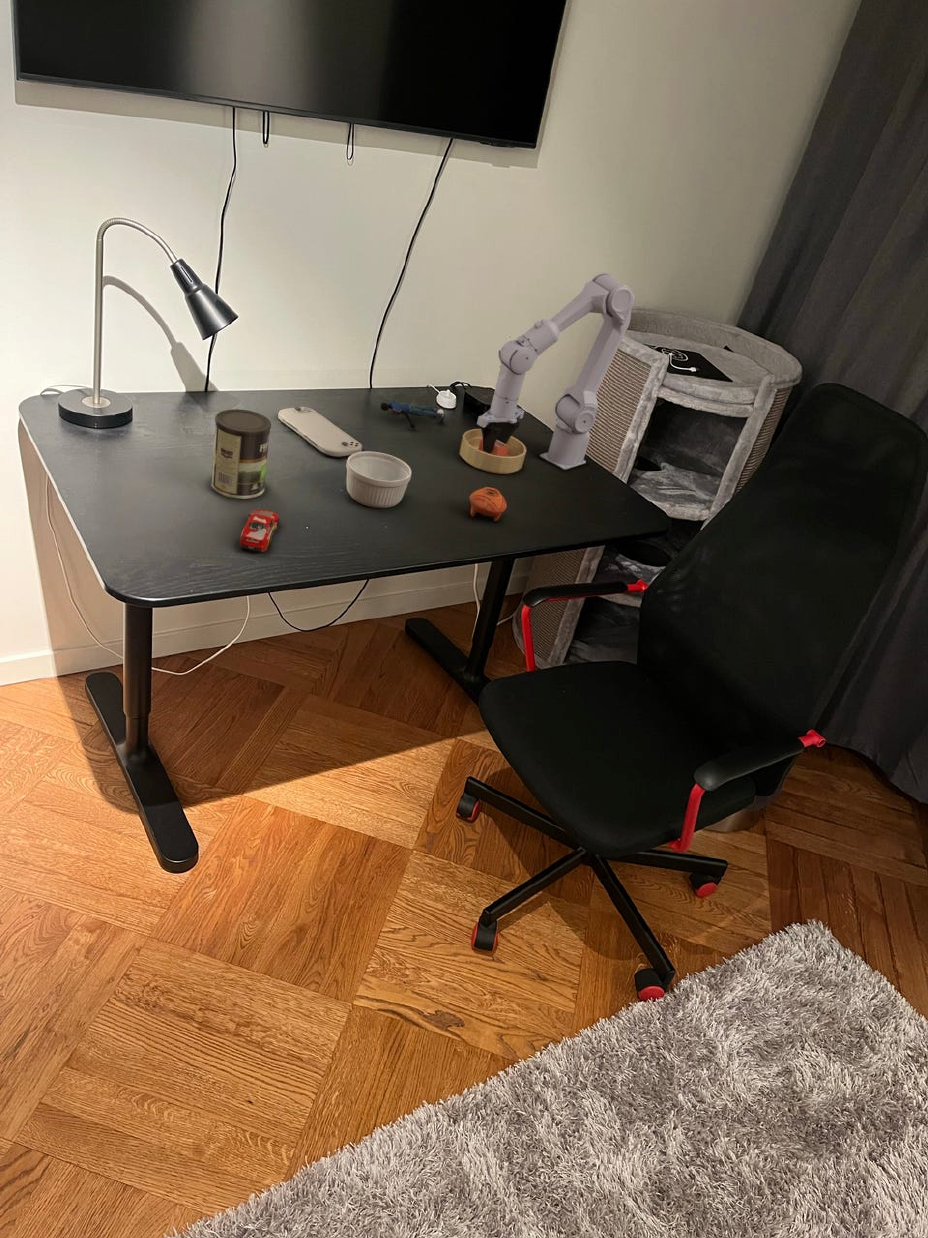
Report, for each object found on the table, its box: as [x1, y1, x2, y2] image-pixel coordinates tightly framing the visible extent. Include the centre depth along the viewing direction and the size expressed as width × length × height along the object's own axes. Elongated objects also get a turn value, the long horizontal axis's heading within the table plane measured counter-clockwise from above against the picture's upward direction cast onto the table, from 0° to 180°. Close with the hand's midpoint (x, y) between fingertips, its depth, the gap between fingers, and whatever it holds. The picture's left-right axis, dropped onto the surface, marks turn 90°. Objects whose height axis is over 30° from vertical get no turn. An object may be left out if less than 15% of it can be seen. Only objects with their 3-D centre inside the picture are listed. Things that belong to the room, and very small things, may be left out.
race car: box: [238, 509, 280, 553], centre depth 165 cm, size 13×5×4 cm, turn 177°
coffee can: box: [210, 408, 272, 500], centre depth 175 cm, size 10×10×14 cm
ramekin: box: [345, 450, 412, 509], centre depth 186 cm, size 13×13×7 cm
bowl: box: [459, 428, 527, 475], centre depth 214 cm, size 15×15×4 cm
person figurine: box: [379, 400, 446, 431], centre depth 224 cm, size 11×4×18 cm
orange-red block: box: [478, 439, 509, 457], centre depth 214 cm, size 4×6×4 cm
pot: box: [469, 486, 508, 522], centre depth 190 cm, size 8×8×7 cm
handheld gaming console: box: [277, 406, 364, 459], centre depth 205 cm, size 23×3×10 cm
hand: (492, 449), depth 214 cm, fingers closed on orange-red block, 4 cm apart
